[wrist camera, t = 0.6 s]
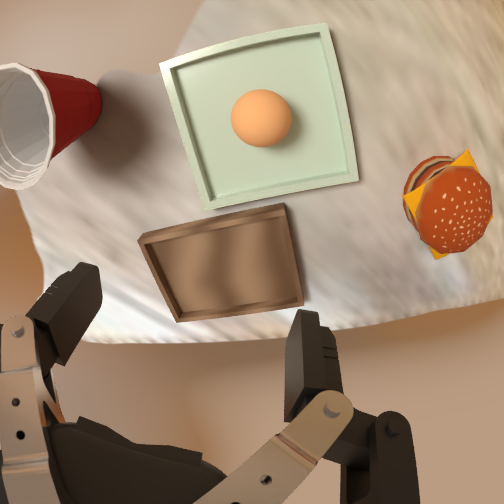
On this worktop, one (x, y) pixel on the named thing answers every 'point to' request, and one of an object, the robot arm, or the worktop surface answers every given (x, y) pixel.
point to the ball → (261, 118)
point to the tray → (225, 264)
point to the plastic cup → (40, 120)
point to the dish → (274, 79)
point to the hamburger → (448, 203)
